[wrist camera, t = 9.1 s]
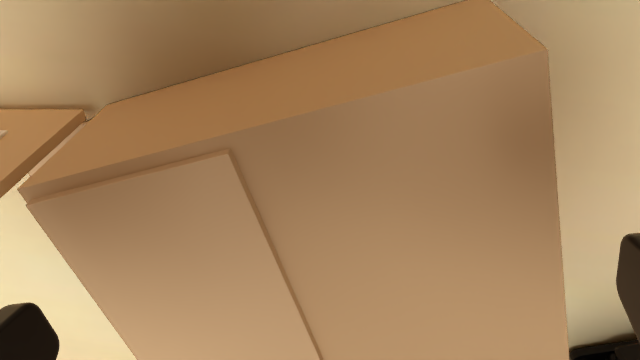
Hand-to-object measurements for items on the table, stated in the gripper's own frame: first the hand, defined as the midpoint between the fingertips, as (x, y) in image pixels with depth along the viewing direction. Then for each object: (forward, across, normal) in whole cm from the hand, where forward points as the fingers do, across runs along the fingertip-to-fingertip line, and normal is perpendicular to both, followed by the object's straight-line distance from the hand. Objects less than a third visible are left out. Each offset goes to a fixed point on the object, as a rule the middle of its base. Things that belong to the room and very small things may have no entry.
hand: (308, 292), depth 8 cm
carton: (+12, +3, +10) cm, 15 cm away
